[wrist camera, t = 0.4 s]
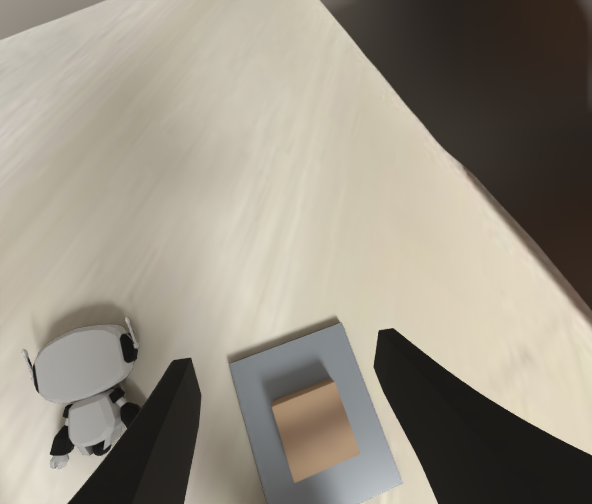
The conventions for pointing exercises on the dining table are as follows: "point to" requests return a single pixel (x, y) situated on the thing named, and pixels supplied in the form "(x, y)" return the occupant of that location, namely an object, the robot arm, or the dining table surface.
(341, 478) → the baseplate
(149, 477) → the robot arm
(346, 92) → the dining table surface
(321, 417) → the walnut block
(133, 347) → the robot toy
